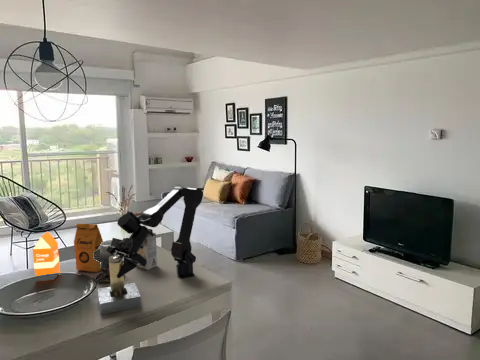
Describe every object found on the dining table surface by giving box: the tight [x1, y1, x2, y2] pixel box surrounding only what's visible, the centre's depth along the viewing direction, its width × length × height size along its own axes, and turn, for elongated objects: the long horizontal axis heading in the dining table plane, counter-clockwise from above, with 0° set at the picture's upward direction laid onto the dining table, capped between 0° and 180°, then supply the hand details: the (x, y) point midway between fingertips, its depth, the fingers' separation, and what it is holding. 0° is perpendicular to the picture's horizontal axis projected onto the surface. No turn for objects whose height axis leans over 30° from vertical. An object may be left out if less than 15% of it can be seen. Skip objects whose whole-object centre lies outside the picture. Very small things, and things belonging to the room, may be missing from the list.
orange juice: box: [32, 231, 61, 277], centre depth 168 cm, size 8×9×20 cm
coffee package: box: [73, 223, 104, 273], centre depth 176 cm, size 10×12×22 cm
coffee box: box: [137, 232, 158, 271], centre depth 180 cm, size 9×6×16 cm
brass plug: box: [108, 255, 125, 296], centre depth 142 cm, size 5×5×14 cm
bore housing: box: [97, 282, 142, 315], centre depth 143 cm, size 14×14×4 cm
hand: (113, 276), depth 141 cm, fingers closed on brass plug, 5 cm apart
